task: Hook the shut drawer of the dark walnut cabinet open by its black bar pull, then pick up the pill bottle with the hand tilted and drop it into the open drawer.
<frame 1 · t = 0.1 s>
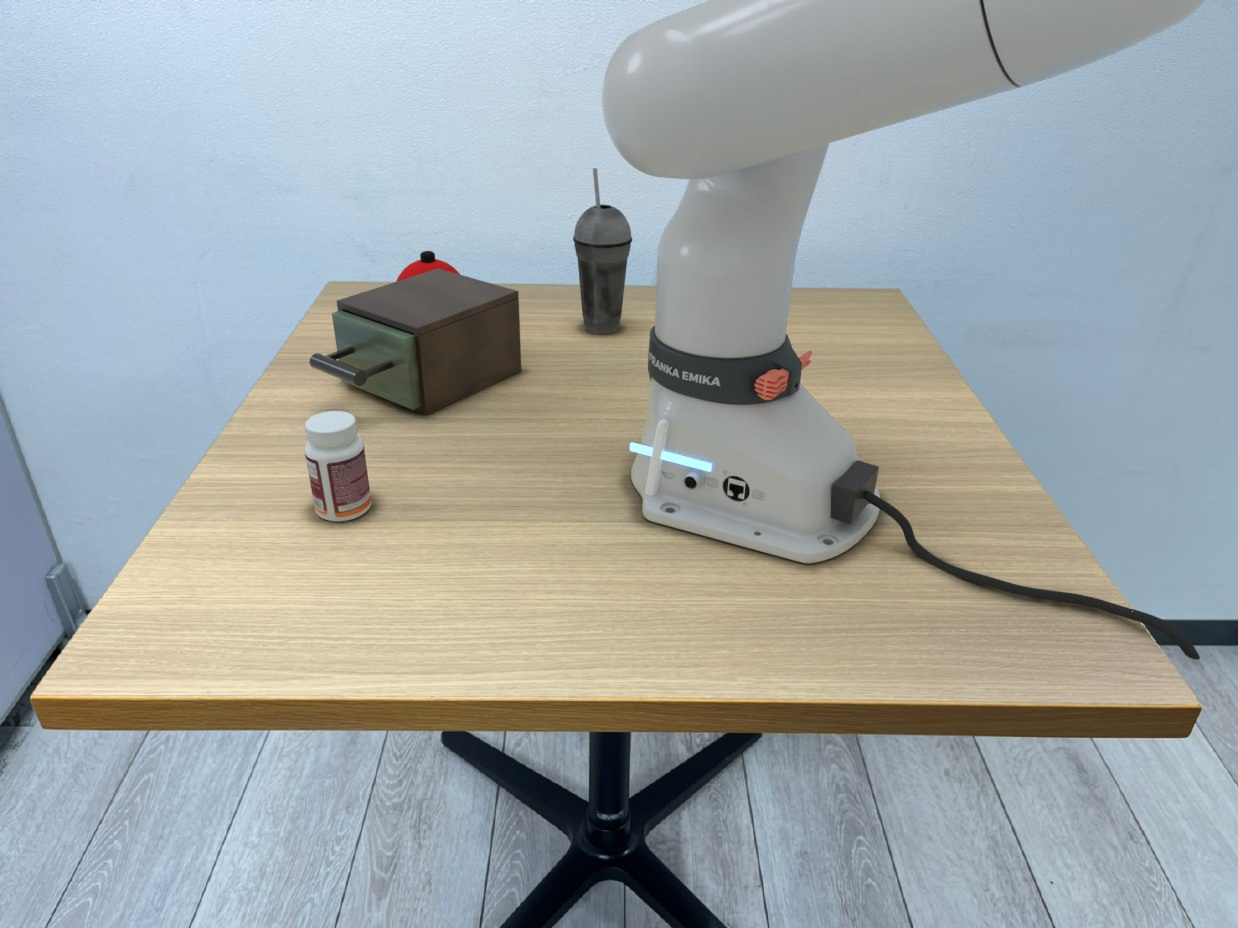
cabinet: (436, 377, 103), on the table
drawer: (403, 348, 97), point 5 cm above the table, slide at 0.0 cm
pill bottle: (343, 509, 79), on the table
ornament: (434, 331, 115), on the table
beverage cup: (601, 329, 117), on the table
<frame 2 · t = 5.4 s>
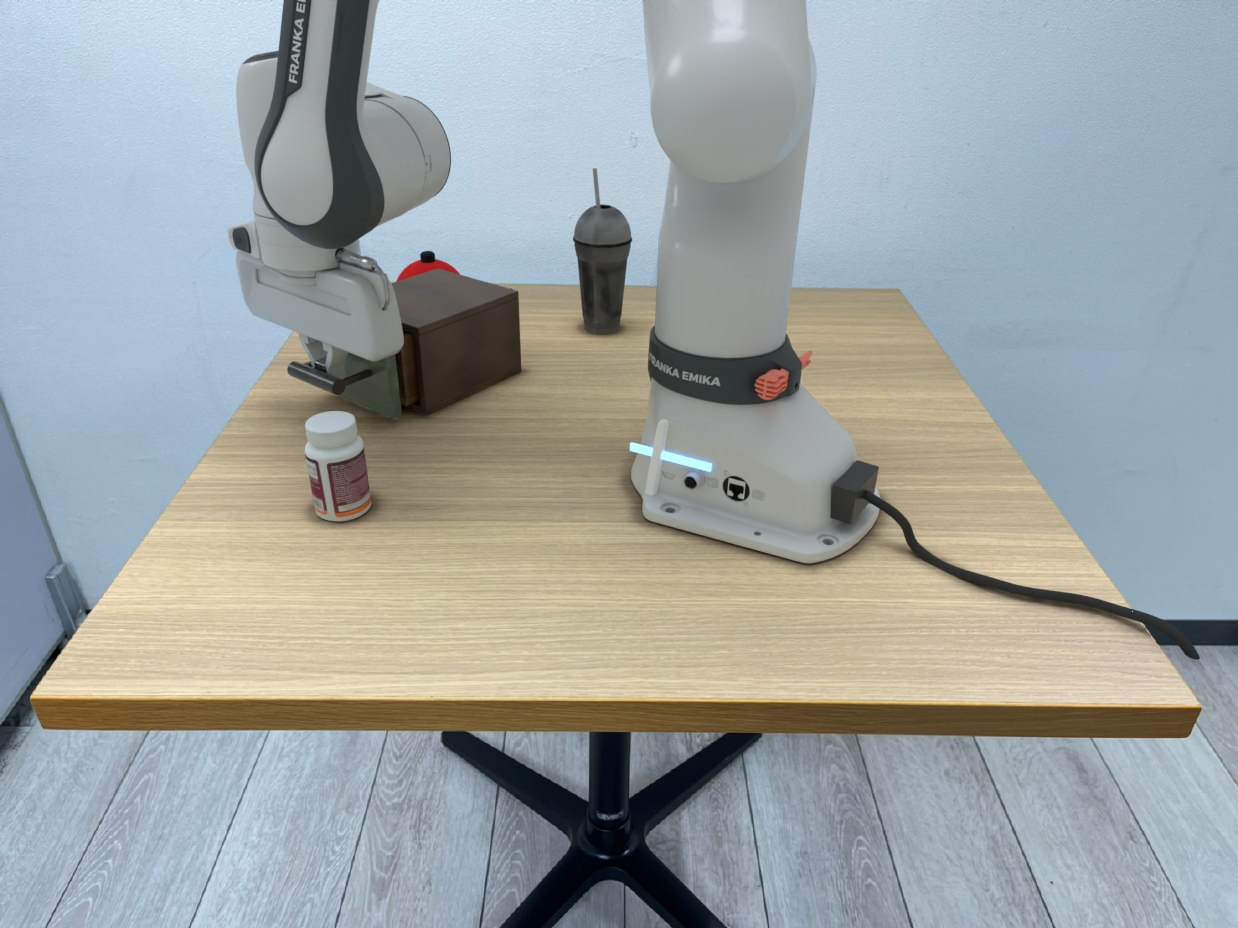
hand: (329, 377, 91), 5 cm above the table, tool pointing down, fingers closed
drawer: (383, 356, 95), point 5 cm above the table, slide at 2.7 cm, touching gripper
everything else where it was.
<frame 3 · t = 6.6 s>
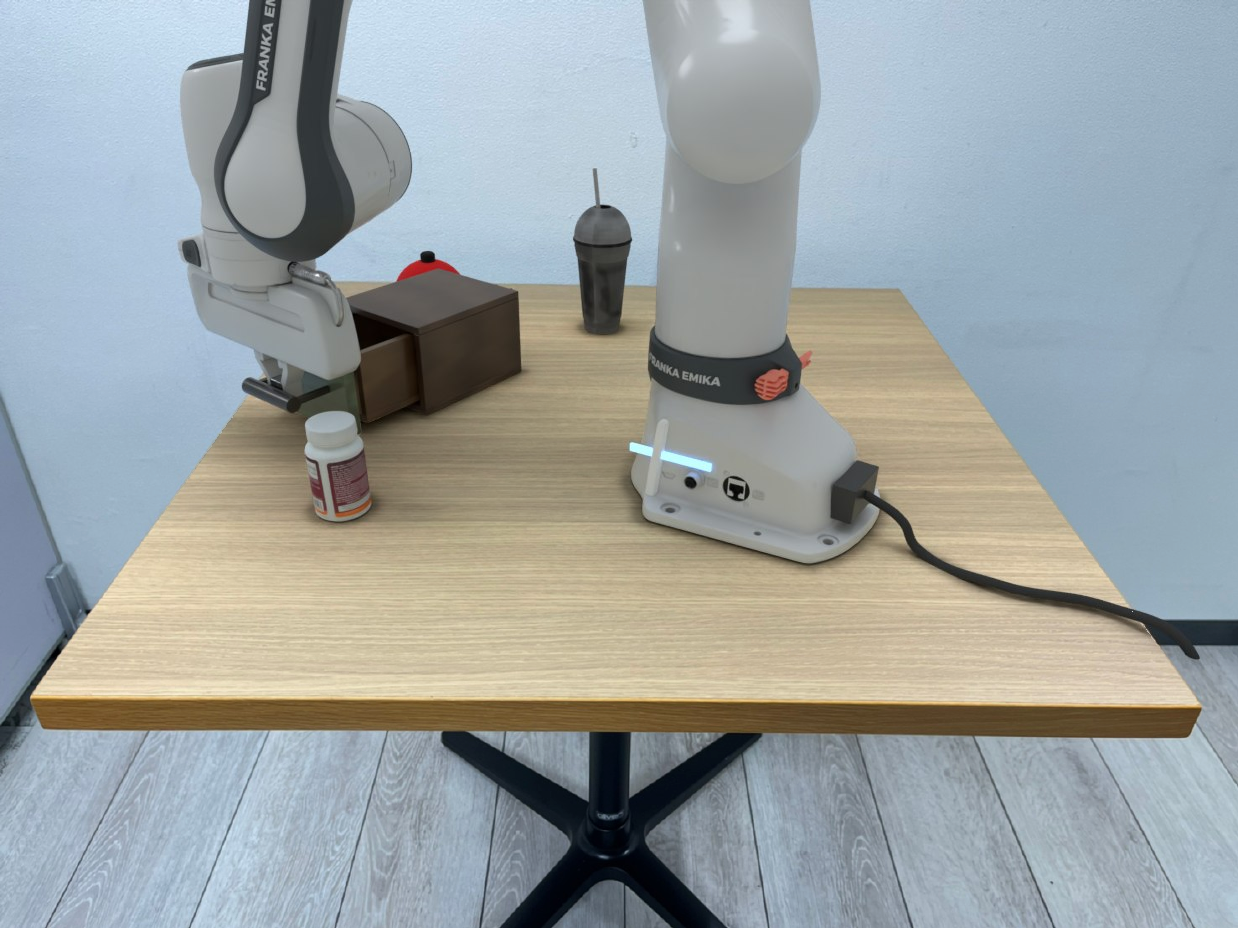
hand: (286, 395, 87), 5 cm above the table, tool pointing down, fingers closed, pressing on drawer
drawer: (344, 371, 92), point 5 cm above the table, slide at 7.7 cm, touching gripper
everything else where it was.
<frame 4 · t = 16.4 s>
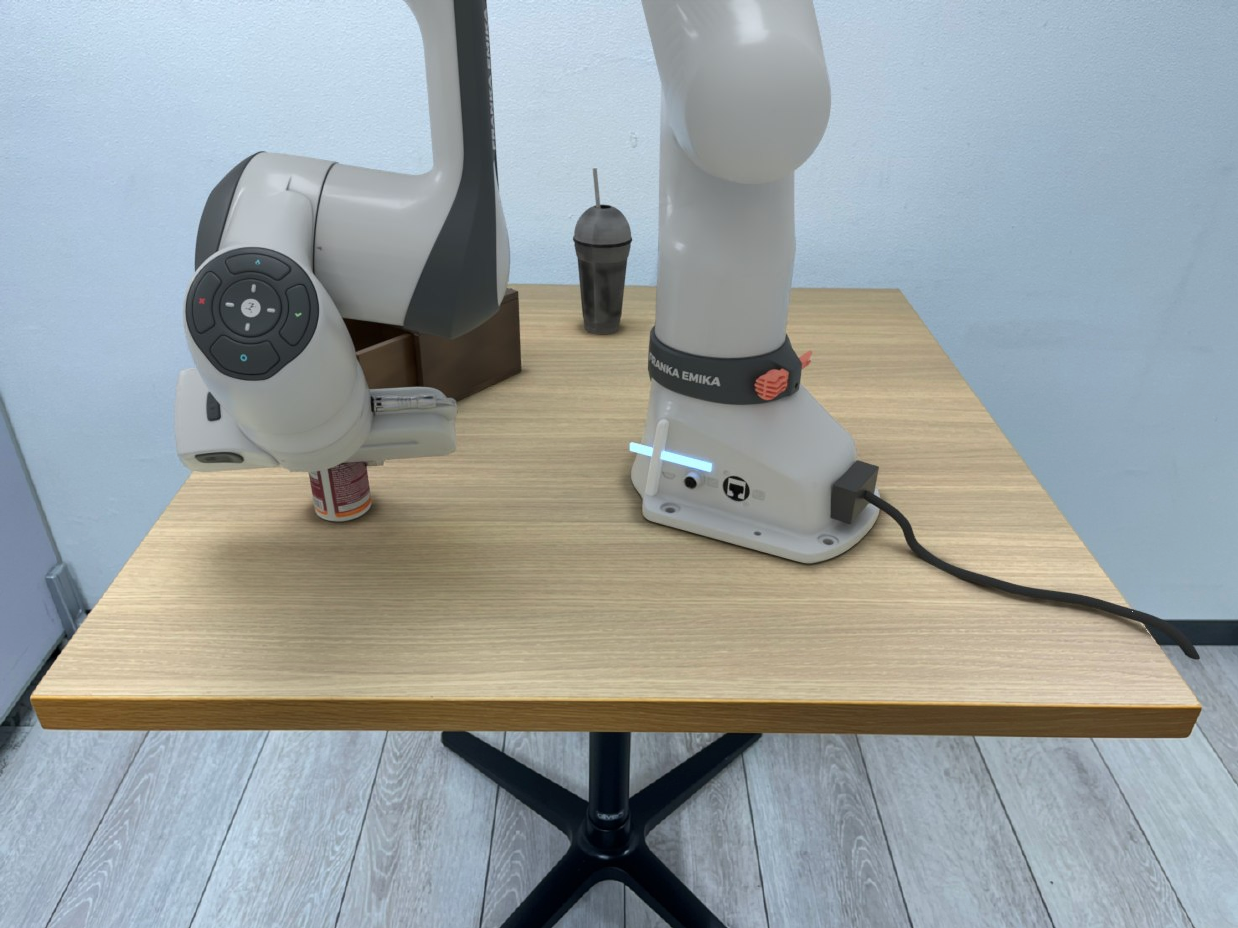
hand: (337, 460, 77), 4 cm above the table, tool tilted 45°, fingers closed on pill bottle, 5 cm apart
drawer: (344, 371, 92), point 5 cm above the table, slide at 7.7 cm
pill bottle: (343, 509, 79), on the table, touching gripper
everything else where it was.
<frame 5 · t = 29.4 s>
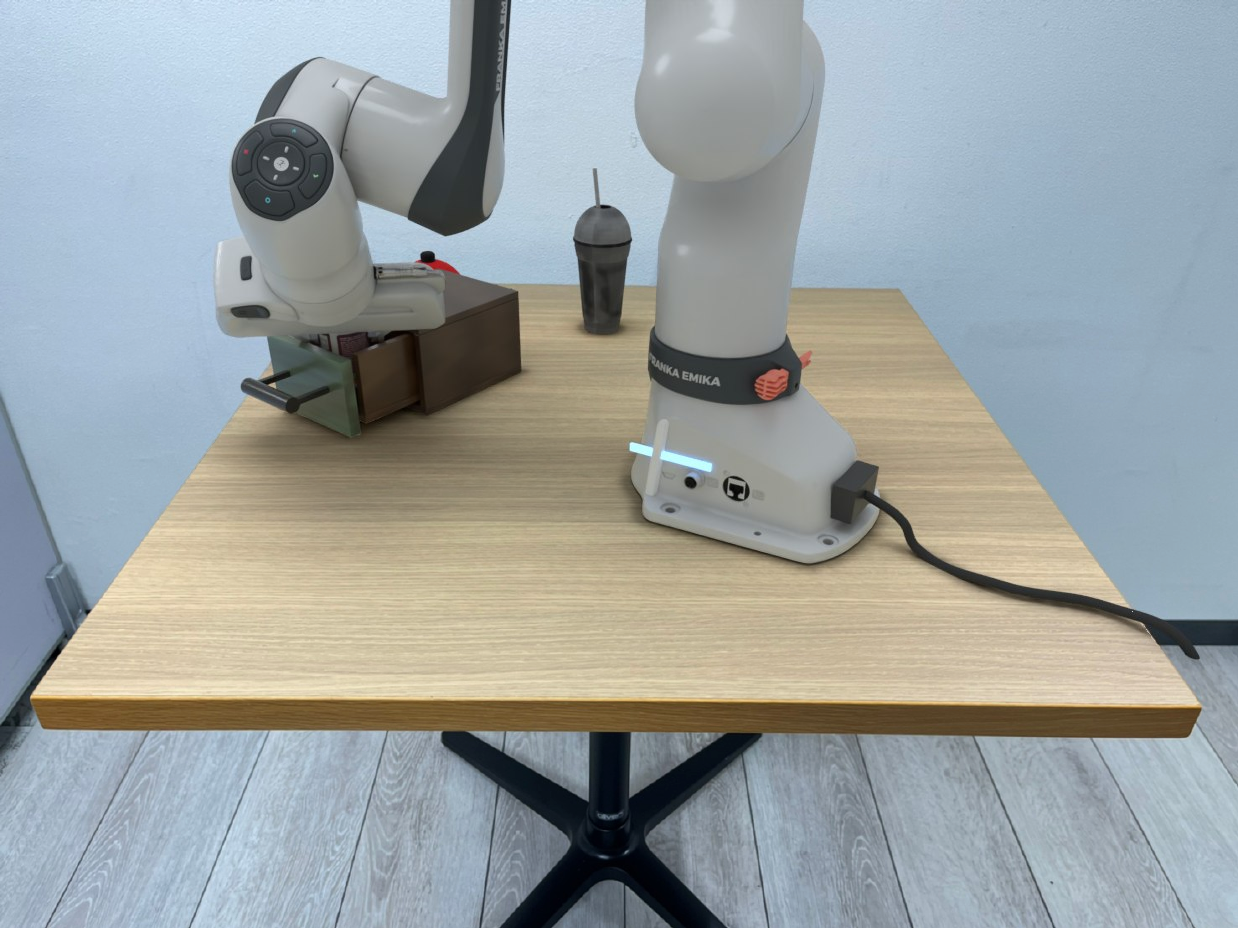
hand: (345, 337, 91), 8 cm above the table, tool tilted 45°, fingers closed on pill bottle, 5 cm apart
pill bottle: (350, 381, 93), point 4 cm above the table, touching gripper
everything else where it was.
when the fingers open (11 cm above the table, at t = 40.3 s): pill bottle drops 5 cm, resting on drawer.
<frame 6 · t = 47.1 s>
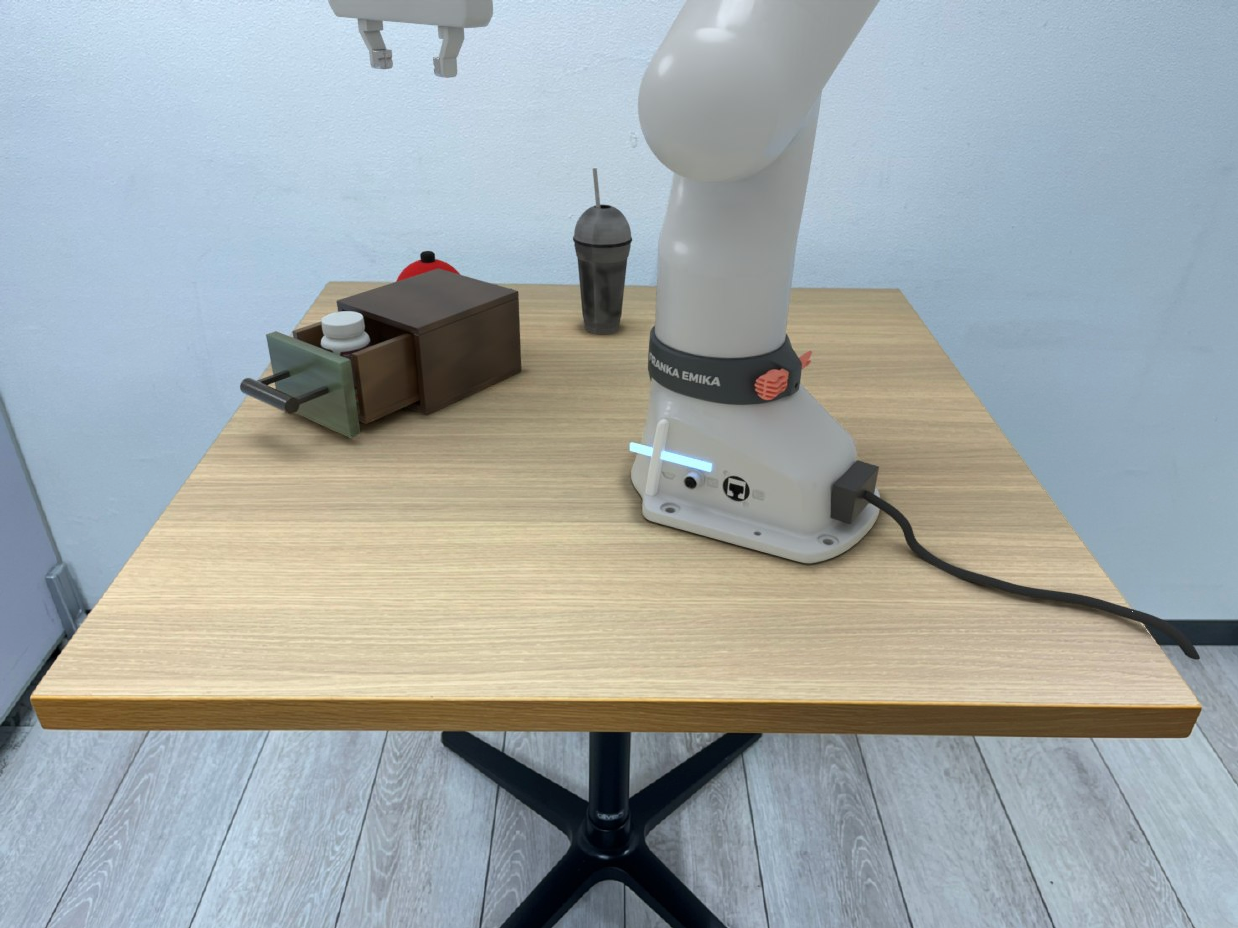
hand: (413, 72, 92), 31 cm above the table, tool pointing down, fingers open, 8 cm apart
drawer: (343, 372, 92), point 5 cm above the table, slide at 7.9 cm, touching pill bottle
pill bottle: (353, 397, 94), point 2 cm above the table, touching drawer
everything else where it was.
at the end: drawer slide at 7.9 cm; pill bottle inside the target area in the drawer (2.9 cm from its centre), point 1.8 cm above the cabinet's base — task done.
